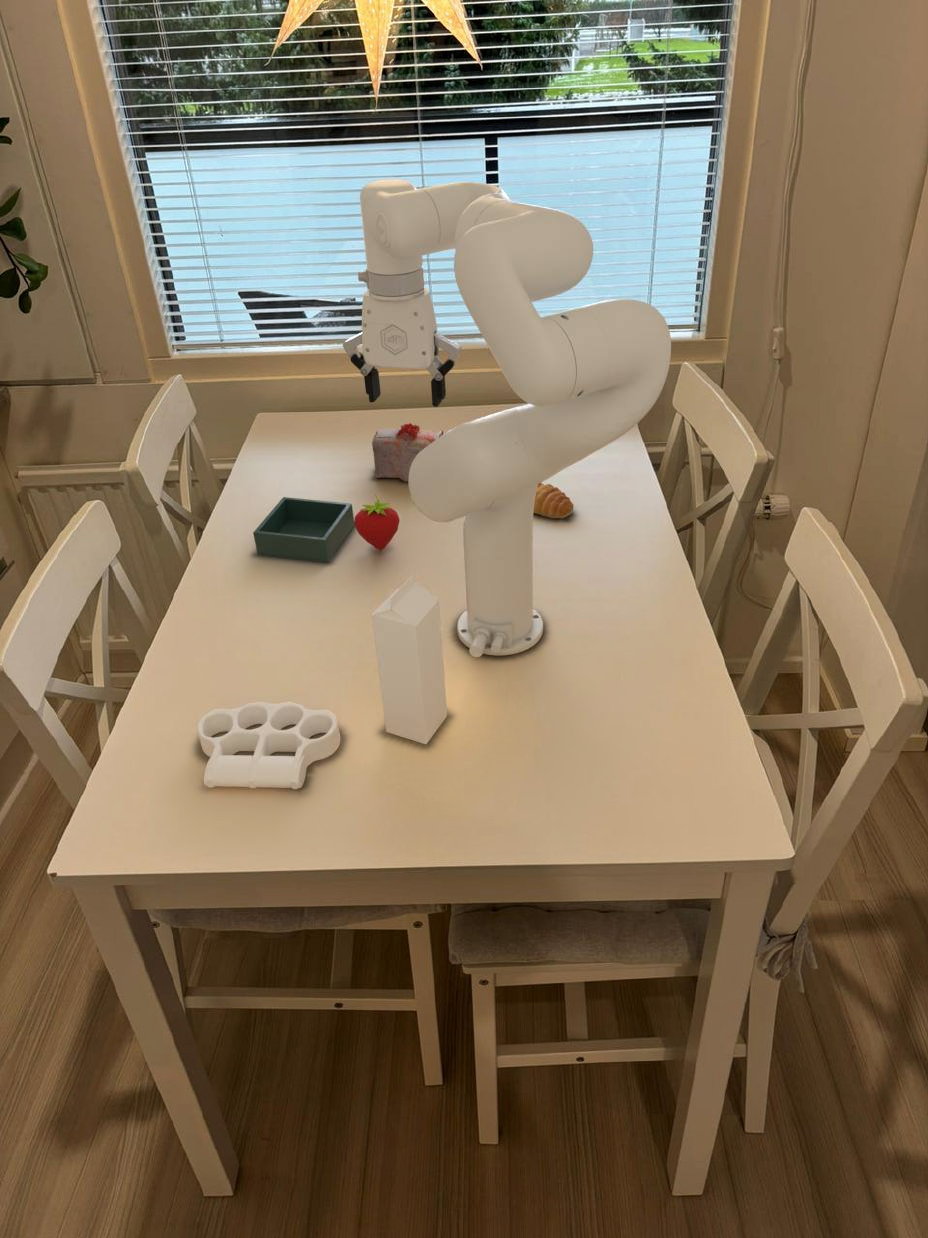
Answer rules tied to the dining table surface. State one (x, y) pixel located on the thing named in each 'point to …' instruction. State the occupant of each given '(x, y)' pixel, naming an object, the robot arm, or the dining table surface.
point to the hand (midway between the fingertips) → (406, 400)
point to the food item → (399, 449)
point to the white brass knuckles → (265, 744)
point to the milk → (410, 662)
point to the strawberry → (377, 524)
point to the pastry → (552, 502)
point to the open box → (304, 529)
